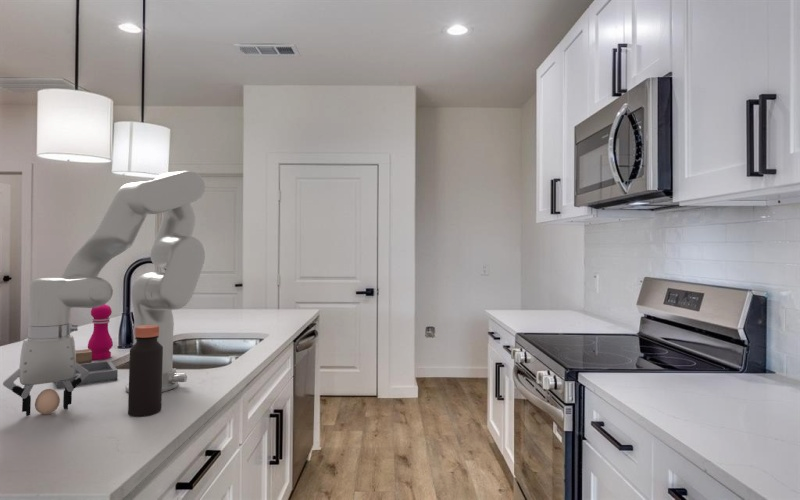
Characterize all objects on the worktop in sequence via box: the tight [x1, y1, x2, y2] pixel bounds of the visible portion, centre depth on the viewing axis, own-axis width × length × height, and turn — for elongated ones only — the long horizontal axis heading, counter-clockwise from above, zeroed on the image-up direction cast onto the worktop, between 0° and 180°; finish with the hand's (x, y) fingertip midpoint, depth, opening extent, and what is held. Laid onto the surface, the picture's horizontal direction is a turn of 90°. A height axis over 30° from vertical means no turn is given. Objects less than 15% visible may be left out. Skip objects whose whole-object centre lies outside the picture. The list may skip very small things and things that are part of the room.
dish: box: [54, 360, 119, 389], centre depth 131 cm, size 14×14×3 cm
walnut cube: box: [75, 348, 93, 364], centre depth 143 cm, size 5×5×5 cm
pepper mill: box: [87, 304, 114, 361], centre depth 155 cm, size 7×7×20 cm
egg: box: [34, 388, 61, 415], centre depth 103 cm, size 4×4×6 cm
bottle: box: [127, 325, 163, 418], centre depth 105 cm, size 7×7×20 cm
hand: (47, 410), depth 103 cm, fingers open, 6 cm apart
